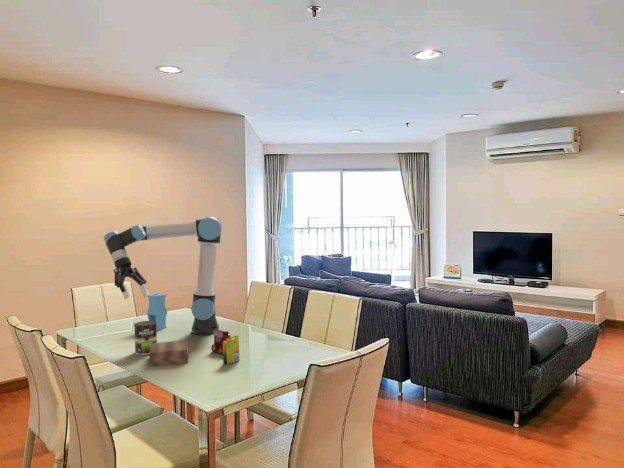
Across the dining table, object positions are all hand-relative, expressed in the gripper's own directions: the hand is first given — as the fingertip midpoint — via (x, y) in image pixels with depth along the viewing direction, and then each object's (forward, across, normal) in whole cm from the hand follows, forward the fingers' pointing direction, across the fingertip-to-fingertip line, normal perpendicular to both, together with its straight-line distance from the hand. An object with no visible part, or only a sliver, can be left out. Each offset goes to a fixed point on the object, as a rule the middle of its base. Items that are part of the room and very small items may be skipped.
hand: (137, 297), depth 230 cm
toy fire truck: (+44, -10, +24) cm, 52 cm away
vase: (+9, -38, -25) cm, 46 cm away
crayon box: (+52, +2, +33) cm, 61 cm away
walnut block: (+36, +7, +8) cm, 38 cm away
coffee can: (+26, +1, -7) cm, 27 cm away
